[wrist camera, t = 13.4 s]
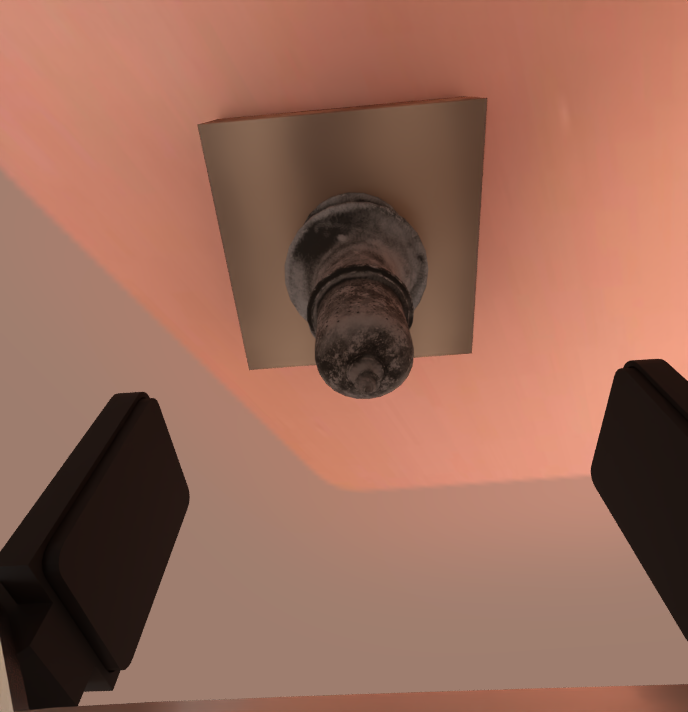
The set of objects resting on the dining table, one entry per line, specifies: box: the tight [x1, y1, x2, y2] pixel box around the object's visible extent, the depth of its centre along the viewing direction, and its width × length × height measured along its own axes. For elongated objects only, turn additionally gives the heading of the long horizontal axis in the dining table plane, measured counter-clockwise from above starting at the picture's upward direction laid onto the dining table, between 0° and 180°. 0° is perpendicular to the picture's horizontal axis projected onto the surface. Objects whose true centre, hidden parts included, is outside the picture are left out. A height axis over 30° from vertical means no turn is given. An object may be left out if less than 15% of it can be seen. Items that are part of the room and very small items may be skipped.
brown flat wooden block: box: [198, 97, 487, 370], centre depth 24 cm, size 12×12×4 cm
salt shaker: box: [284, 192, 428, 399], centre depth 17 cm, size 6×6×12 cm
